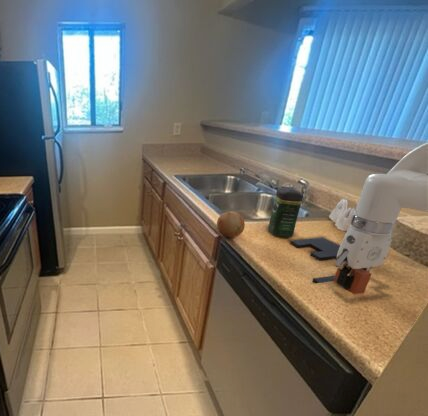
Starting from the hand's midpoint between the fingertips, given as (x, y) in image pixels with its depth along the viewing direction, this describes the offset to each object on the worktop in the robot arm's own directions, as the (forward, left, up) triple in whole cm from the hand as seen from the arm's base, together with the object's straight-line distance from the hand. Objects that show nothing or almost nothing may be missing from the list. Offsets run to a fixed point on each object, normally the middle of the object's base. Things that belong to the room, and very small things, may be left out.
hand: (348, 284), depth 75 cm
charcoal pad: (-13, -20, -2) cm, 24 cm away
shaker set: (-38, -35, -2) cm, 52 cm away
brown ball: (+12, -36, -2) cm, 38 cm away
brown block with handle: (-2, 0, -2) cm, 3 cm away
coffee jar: (-9, -34, -2) cm, 35 cm away
